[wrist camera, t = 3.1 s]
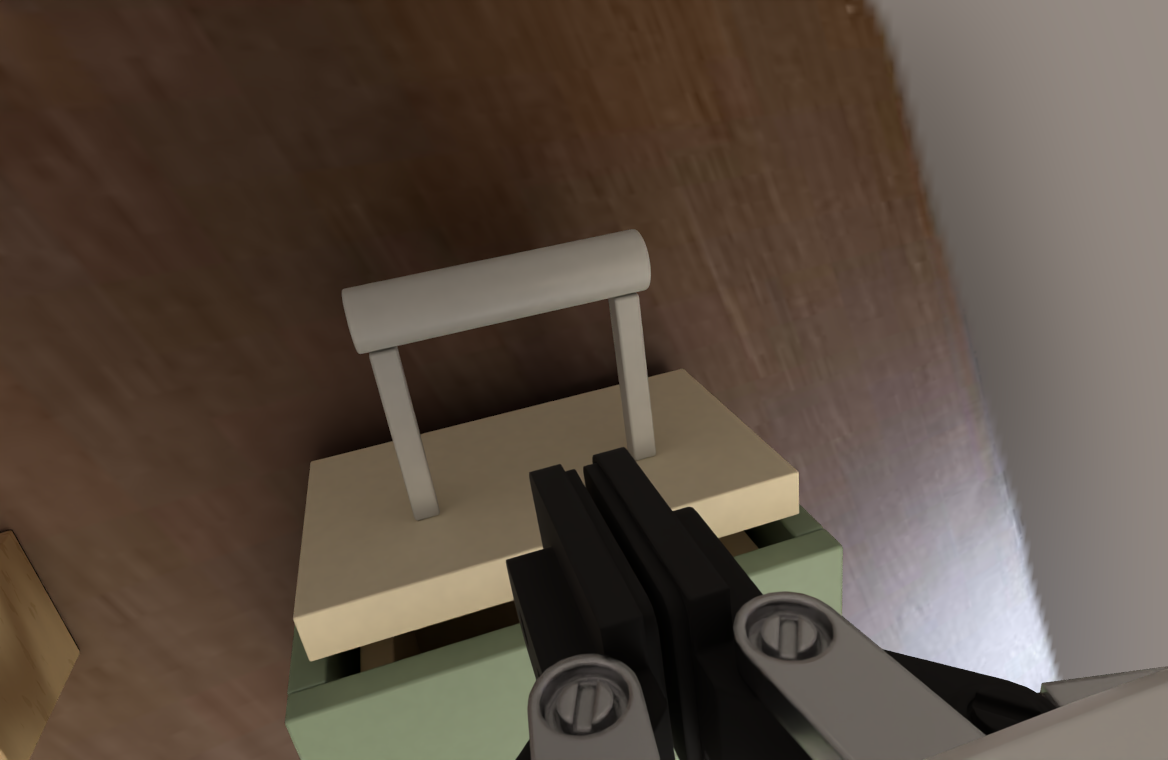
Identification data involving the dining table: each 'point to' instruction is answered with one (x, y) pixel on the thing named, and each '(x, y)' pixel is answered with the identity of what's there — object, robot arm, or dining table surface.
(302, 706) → the cabinet
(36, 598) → the block
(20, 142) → the dining table surface
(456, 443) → the drawer
